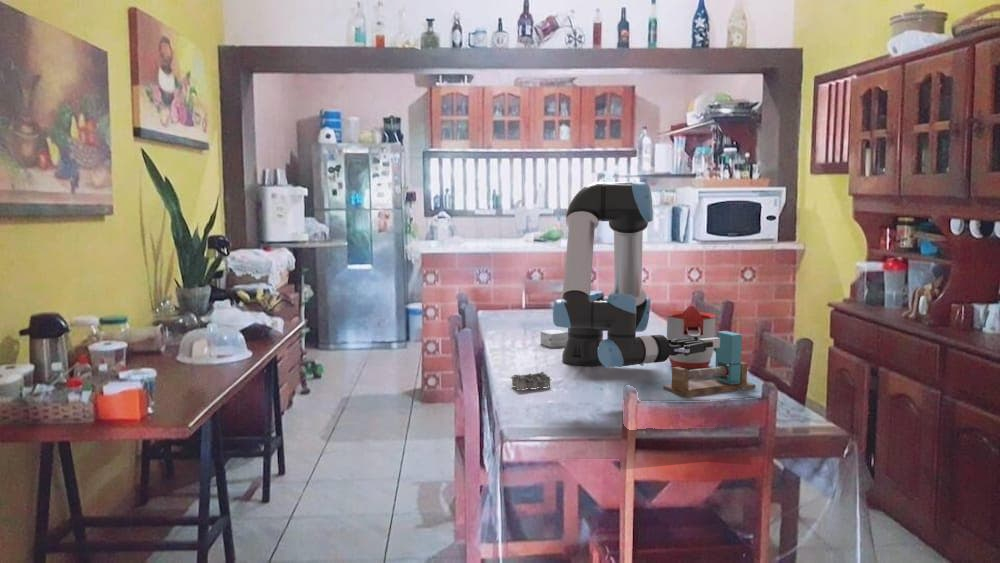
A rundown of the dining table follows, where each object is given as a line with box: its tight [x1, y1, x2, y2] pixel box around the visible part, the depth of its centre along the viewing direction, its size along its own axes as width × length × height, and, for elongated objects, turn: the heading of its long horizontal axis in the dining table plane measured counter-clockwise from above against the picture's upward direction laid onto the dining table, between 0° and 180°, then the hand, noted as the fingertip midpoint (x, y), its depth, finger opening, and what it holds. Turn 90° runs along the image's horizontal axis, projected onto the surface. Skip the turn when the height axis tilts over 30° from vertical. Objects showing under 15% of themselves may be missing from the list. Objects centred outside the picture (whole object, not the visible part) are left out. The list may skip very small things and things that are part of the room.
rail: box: [662, 361, 756, 398], centre depth 216 cm, size 25×10×7 cm, turn 115°
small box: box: [540, 329, 568, 348], centre depth 279 cm, size 8×8×5 cm
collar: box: [714, 330, 743, 385], centre depth 218 cm, size 4×7×14 cm, turn 25°
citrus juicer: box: [666, 304, 717, 370], centre depth 243 cm, size 16×17×20 cm
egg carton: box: [510, 371, 552, 390], centre depth 217 cm, size 11×8×4 cm
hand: (718, 342), depth 216 cm, fingers closed
